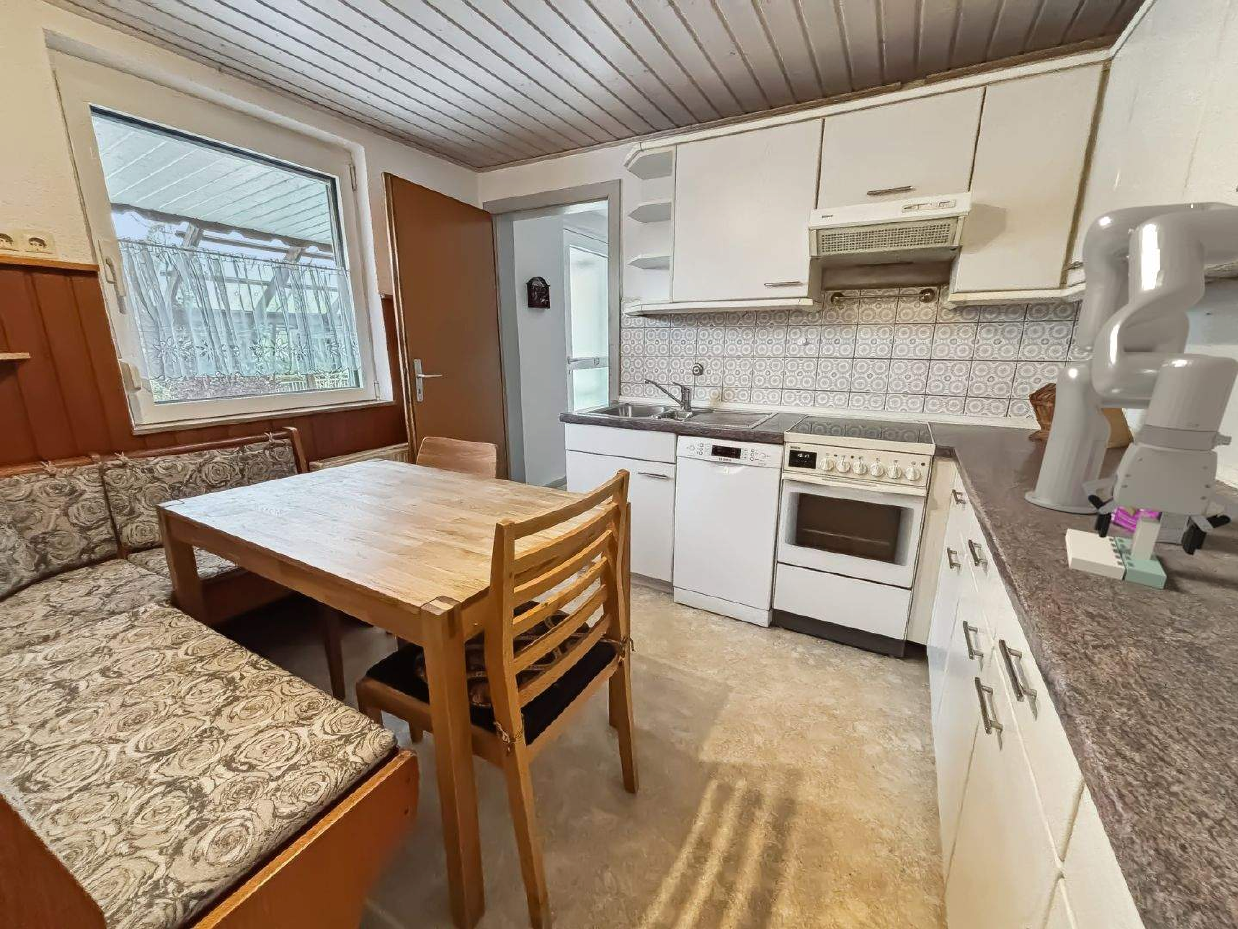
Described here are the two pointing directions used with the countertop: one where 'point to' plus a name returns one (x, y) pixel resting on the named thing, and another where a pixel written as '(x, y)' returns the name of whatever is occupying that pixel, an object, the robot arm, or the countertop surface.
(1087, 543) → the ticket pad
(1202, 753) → the countertop surface
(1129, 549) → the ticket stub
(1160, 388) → the robot arm
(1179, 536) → the candy bar box
